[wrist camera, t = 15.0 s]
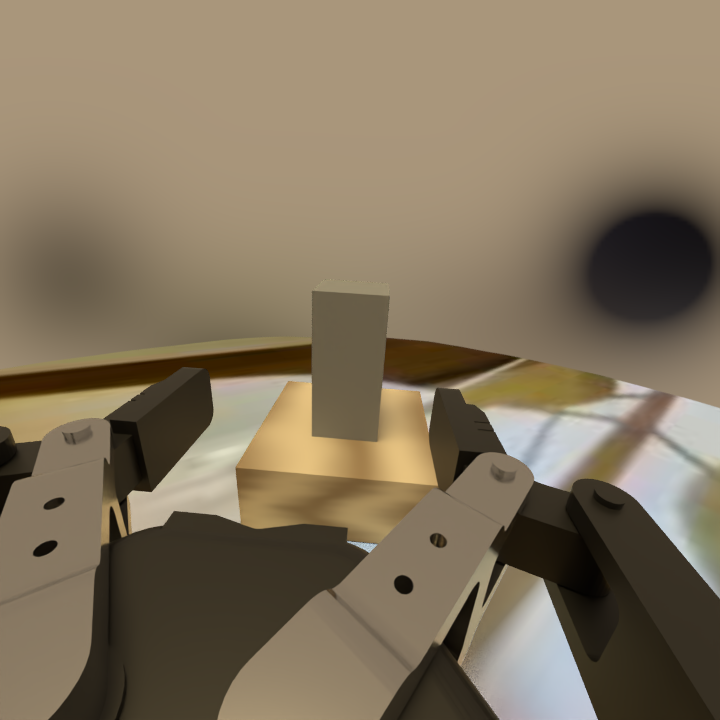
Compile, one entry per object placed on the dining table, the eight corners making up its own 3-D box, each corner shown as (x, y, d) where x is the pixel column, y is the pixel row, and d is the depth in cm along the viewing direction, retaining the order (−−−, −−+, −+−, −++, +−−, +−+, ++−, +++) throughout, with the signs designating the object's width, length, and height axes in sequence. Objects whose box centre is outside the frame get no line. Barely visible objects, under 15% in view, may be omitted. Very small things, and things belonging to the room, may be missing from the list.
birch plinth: (241, 530, 22) (235, 467, 20) (289, 427, 33) (288, 381, 31) (428, 548, 22) (440, 485, 20) (413, 438, 33) (419, 391, 31)
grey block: (311, 436, 23) (312, 290, 20) (322, 404, 28) (324, 279, 24) (377, 442, 23) (389, 295, 20) (378, 409, 27) (389, 283, 24)
